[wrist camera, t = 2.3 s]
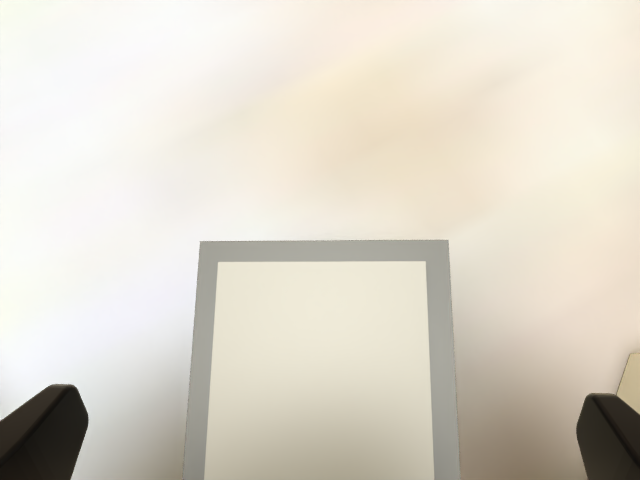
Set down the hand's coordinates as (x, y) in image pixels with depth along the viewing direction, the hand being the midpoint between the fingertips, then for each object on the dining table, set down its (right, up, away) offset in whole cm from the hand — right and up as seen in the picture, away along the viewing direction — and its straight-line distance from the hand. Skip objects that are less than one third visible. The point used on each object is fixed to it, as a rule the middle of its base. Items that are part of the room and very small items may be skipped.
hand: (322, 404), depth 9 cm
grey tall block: (+1, -2, +8) cm, 9 cm away
